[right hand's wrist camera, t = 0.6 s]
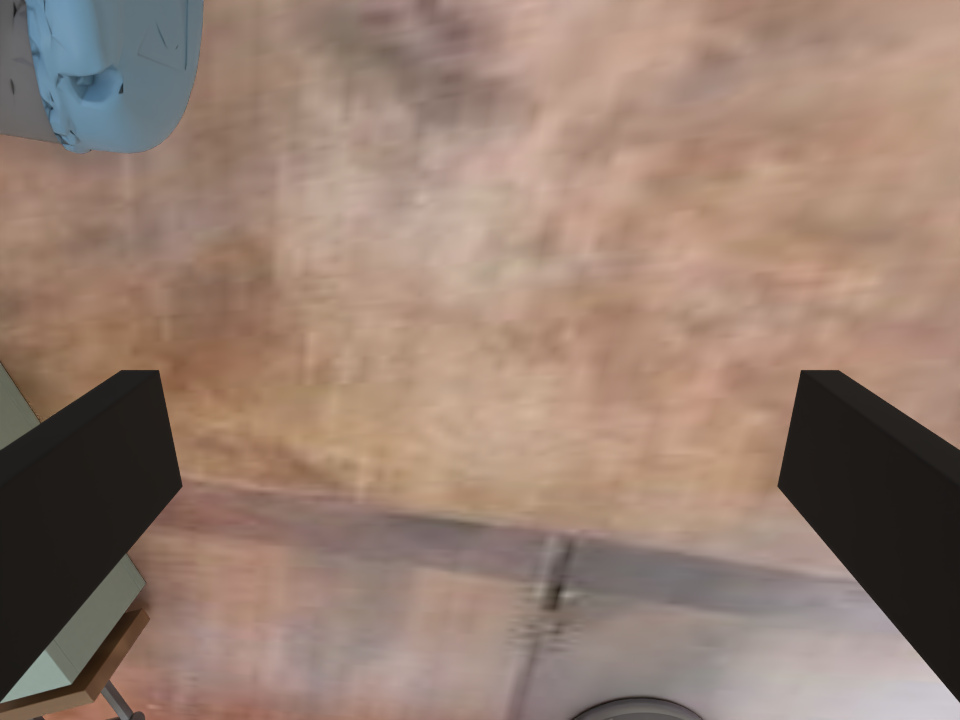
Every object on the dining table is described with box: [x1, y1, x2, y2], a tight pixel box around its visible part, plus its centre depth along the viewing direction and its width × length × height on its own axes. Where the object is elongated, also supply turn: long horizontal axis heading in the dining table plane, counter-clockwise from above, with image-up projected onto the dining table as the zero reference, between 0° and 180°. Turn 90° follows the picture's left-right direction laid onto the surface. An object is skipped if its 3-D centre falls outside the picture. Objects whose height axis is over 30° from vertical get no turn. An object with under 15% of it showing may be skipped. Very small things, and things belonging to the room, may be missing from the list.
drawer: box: [0, 608, 150, 720], centre depth 43 cm, size 25×8×8 cm, turn 18°
